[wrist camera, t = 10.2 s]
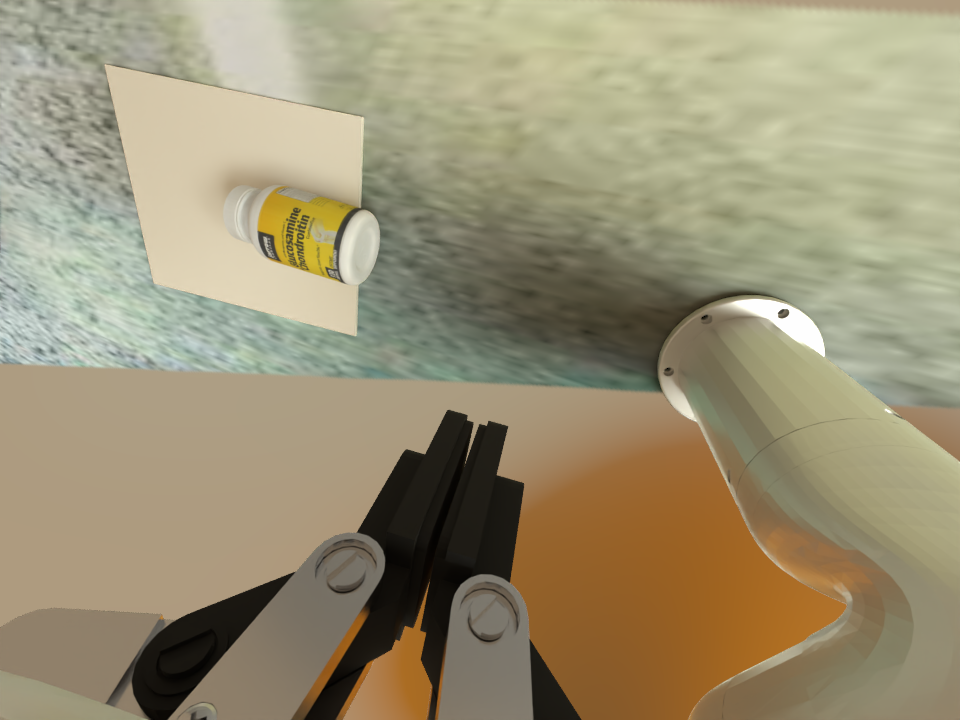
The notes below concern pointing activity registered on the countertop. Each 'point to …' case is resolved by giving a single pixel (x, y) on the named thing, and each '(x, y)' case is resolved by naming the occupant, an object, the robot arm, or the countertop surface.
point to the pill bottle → (305, 231)
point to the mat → (232, 187)
